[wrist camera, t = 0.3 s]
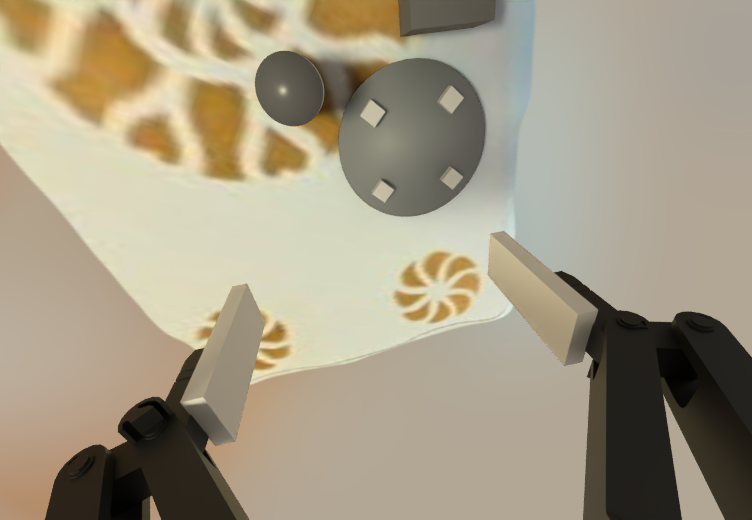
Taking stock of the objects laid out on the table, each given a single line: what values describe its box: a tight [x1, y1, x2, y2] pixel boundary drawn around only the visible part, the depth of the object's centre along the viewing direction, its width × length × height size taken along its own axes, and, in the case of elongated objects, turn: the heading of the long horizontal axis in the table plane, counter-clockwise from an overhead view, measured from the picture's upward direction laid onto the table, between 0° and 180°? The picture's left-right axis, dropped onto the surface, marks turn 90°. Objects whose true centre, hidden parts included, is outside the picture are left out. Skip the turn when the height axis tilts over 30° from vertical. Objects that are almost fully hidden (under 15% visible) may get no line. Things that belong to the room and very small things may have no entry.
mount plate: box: [339, 58, 485, 216], centre depth 37 cm, size 18×18×2 cm
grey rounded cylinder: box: [255, 51, 324, 126], centre depth 29 cm, size 6×6×9 cm
